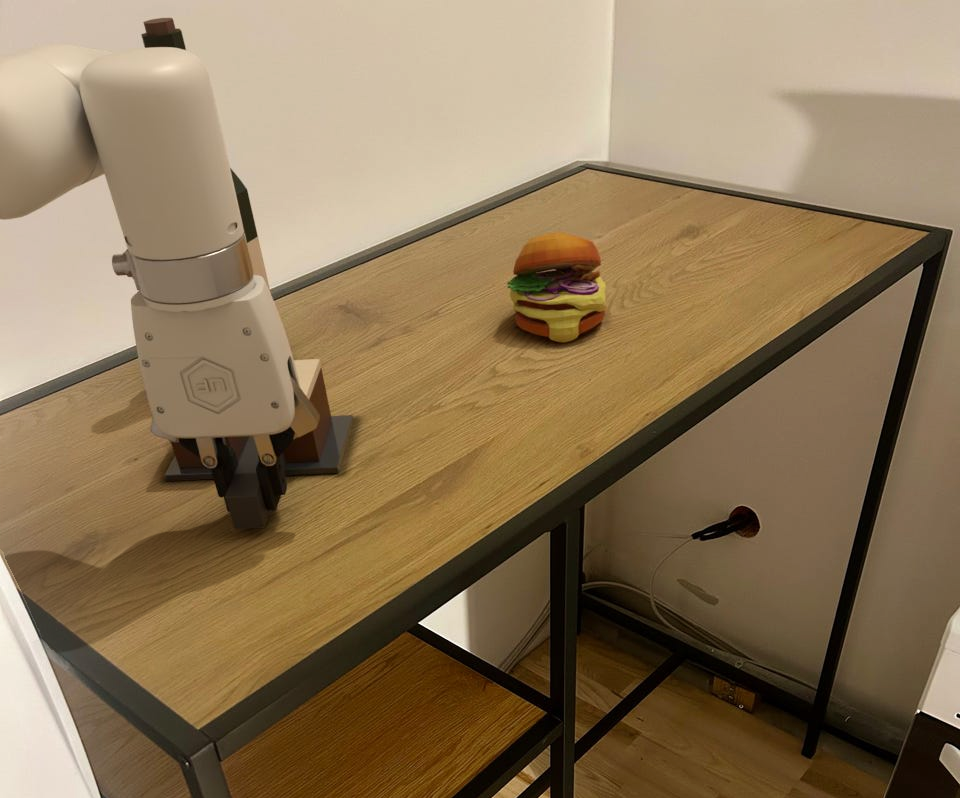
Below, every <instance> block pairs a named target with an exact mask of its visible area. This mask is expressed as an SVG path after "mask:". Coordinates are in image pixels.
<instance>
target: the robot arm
mask: <svg viewBox="0 0 960 798" xmlns="http://www.w3.org/2000/svg"><path fill="white" fill-rule="evenodd" d="M214 94H215V93H214V90H213V87H212V82H211V79H210V75H209V72H208V71H207V68H206V67H205V65H204V64H203V62H202V61H201V59H200V58H199V57H198V56H197V55H195V54H194V53H193V52H191V51H190V50H187V49H186V50H183V49H179V48H173V47H151V48H145V47H142V48H141V47H140V48H133V49H126V50H122V51H112V50H111V51H110V50H104V49H98V48H92V47H89V46H88V47H87V46H82V45H77V44H69V43H68V44H67V43H48V44H41V45H37V46H33V47H30V48H28V49H25V50H21V51H19V52H17V53H14V54H10V55H6V56H4V57H1V58H0V220H3V221H4V220H5V221H6V220H13V219H14V220H15V219H18V218H23V217H25V216H28V215H30V214H32V213H35V212H36V211H38V210H40V209H42V208H43V207H45V206H47V205H48V204H50V203H53V202H54V201H55V200H58V199H59V198H60V197H62V196H64V195H65V194H67V193H69V192H70V191H72V190H74V189H75V188H78V187H80V186H83V185H84V184H86V183H87V184H88V183H89V182H90V181H93V180H95V179H97V178H99V177H101V176H104V177H105V180H106V184H107V187H108V190H109V193H110V196H111V200H112V203H113V206H114V209H115V212H116V215H117V219H118V223H119V225H120V228H121V232H122V235H123V238H124V242H125V245H126V248H127V249H126V250H125V251H123V252H122V253H120V254H117V253H116V254H113V255H112V256H111V265H112V270H113V272H114V274H115V275H116V276H118V277H119V276H126V277H128V278H132V280H133V281H134V284H135V287H136V290H137V292H136V293H135V294H133V296H131V299H130V311H131V319H132V328H133V335H134V339H135V347H136V352H137V358H138V362H139V363H138V364H139V368H140V372H141V377H142V381H143V385H144V389H145V394H146V397H147V401H148V405H149V409H150V412H151V415H152V418H151V422H150V423H151V424H150V432H151V434H152V435H153V436H155V437H158V438H160V439H164V440H166V441H169V442H170V441H172V442H175V443H176V442H179V443H180V444H181V445H182V446H183V447H184V448H186V449H187V450H189V451H190V452H192V453H193V454H195V455H196V456H198V457H199V458H201V462H202V464H203V465H204V466H205V467H207V468H210V469H211V472H212V476H213V479H212V480H213V482H214V485H215V489H216V492H217V495H218V497H220V498H223V500H224V503H225V507H226V510H227V512H228V513H230V512H229V509H228V506H227V503H226V499H225V496H226V493H227V491H228V488H229V486H230V484H231V481H232V479H233V476H234V474H235V471H236V469H237V466H238V460H237V457H236V453H235V452H233V449H232V448H228V447H227V446H226V442H225V437H238V436H253V438H254V441H255V444H256V447H257V451H258V454H259V455H258V458H259V462H258V464H257V467H256V473H257V477H258V481H259V484H260V486H261V490H262V494H263V497H264V501H265V505H266V509H268V510H269V511H270V512H275V511H277V508H278V506H279V503H280V501H281V497H282V496H285V495H286V493H287V489H288V482H287V477H286V475H285V473H284V469H283V465H282V460H281V456H280V455H281V454H282V453H283V452H284V450H285V449H286V448H287V447H288V446H289V445H290V443H291V442H292V441H293V440H294V439H295V438H297V437H298V438H299V437H301V436H303V435H305V434H307V433H309V432H311V431H313V430H315V429H316V428H317V425H318V422H319V419H320V415H319V413H318V412H317V410H316V409H315V407H314V406H313V405H312V403H311V402H310V401H309V399H308V398H307V396H306V395H305V394H304V392H303V391H302V390H301V388H300V384H299V379H298V374H297V370H296V366H295V363H294V360H295V358H294V355H293V351H292V349H291V345H290V342H289V339H288V337H287V333H286V330H285V327H284V324H283V321H282V318H281V316H280V313H279V311H278V308H277V305H276V303H275V301H274V298H273V296H272V293H270V292H271V290H270V291H269V289H268V287H267V285H266V282H265V280H264V279H263V277H262V276H259V275H254V272H253V267H252V263H251V259H250V254H249V250H248V245H247V241H246V236H245V232H244V228H243V224H242V219H241V215H240V210H239V206H238V201H237V197H236V192H235V188H234V183H233V179H232V174H231V170H230V168H231V166H230V162H229V157H228V153H227V148H226V144H225V139H224V135H223V130H222V125H221V121H220V117H219V112H218V108H217V104H216V99H215V95H214Z"/></svg>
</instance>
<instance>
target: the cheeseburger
mask: <svg viewBox="0 0 960 798" xmlns="http://www.w3.org/2000/svg"><path fill="white" fill-rule="evenodd" d="M598 250H599V249H598V248H597V246H596V245H595V243H594V241H592V240H589V239H586V238H584V237H579V236H576V235H573V234H570V233H565V232H551V233H546V234H541V235H537V236H534V237H531V238H530V239H529V240H528V241H527V242H526V243H525V244H524V245H523V246H522V249H521V250H520V252H519V254H518V256H517V257H516V259H515V262H514V266H513V270H512V273H513V275H514V277H512V278H511V279H510V280H509V281H507V283H506V284H507V289H510V290H509V298H510V299H511V301H512V303H513V304H512V307H513V311H514V319H515V322H516V326H517V327H519V328H520V329H521V330H523V331H526V332H529V333H531V334H533V335H536V336H540V337H545V338H548V339H549V340H551V341H553V342H556V343H563V344H564V343H569V342H571V341H573V340H576V339H577V338H578V336H579V335H581V334H583V333H584V332H587V331H589V330H591V329H593V328H594V327H596V326H597V325H598V324H600V323H601V322H603V321H604V318H605V314H606V313H605V312H606V305H607V303H606V302H607V301H606V297H607V295H606V289H607V285H606V283H605V282H604V280H603V278H602V276H601V272H600V270H596V269H597V268H598V267H600V266H601V265H602V260H601V257H600V254H599V253H600V252H599V251H598ZM595 270H596V271H595Z"/></svg>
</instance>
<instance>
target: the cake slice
mask: <svg viewBox="0 0 960 798" xmlns="http://www.w3.org/2000/svg"><path fill="white" fill-rule="evenodd" d="M294 363H295V366H296V370H297V374H298V379H299V384H300V388H301V390H302V391H303V392H304V394H305V395H306V396H307V398H308V399H309V401H310V402H311V403H312V405H313V406H314V407H315V409H316V410H317V412H318V413H319V415H320V419H319V422H318V425H317V428H316V429H315V430H313V431H311V432H309V433H307V434H305V435H303V436H301V437H299V438H298V437H297V438H295V439H294V440H293V441H292V442H291V443H290V445H289V446H288V447H287V448H286V449H285V450H284V452H283V454H284V458H285V463H295V462H315V461H320V458H321V454H322V451H323V448H324V445H325V442H326V438H327V435H328V432H329V429H330V426H331V422H332V418H331V416H332V413H331V408H330V403H329V399H328V394H327V389H326V384H325V379H324V373H323V369H322V363H321V360H320V358H312V359H311V358H309V359H308V358H307V359H294Z"/></svg>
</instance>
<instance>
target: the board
mask: <svg viewBox="0 0 960 798" xmlns="http://www.w3.org/2000/svg"><path fill="white" fill-rule="evenodd" d="M331 418H332V422H331V426H330V429H329V432H328V435H327V438H326V442H325V445H324V448H323V451H322V454H321V458H320V461H315V462H295V463H286V465H285V468H284V473H285V476H304V475H306V476H307V475H325V474H328V475H329V474H339V473H340V470H341V467H342V462H343V460H344V455H345V452H346V449H347V445H348V442H349V438H350V435H351V431H352V428H353V424H354V420H355V419H354V416H353V414H345V415H344V414H343V415H331ZM248 438H249V436H248ZM248 438H247V440H246V442H245V445H244V447H243V449H242V451H241V454H240V456H239V458H238V463H239V461H240V458H241V456H242V453H243V451H244V448H245V446H246V443H247V441H248ZM164 478H165V481H166V482H175V481H176V482H177V481H178V482H179V481H197V480H214V479H213V476H212V472H211V469H210V468H207V467H191V468H179V466H178V463H177V460H176V457H175V456H174V457H173V458H172V461H171V463H170V465H169V466H168V468H167V469H166V472H165V474H164Z"/></svg>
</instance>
